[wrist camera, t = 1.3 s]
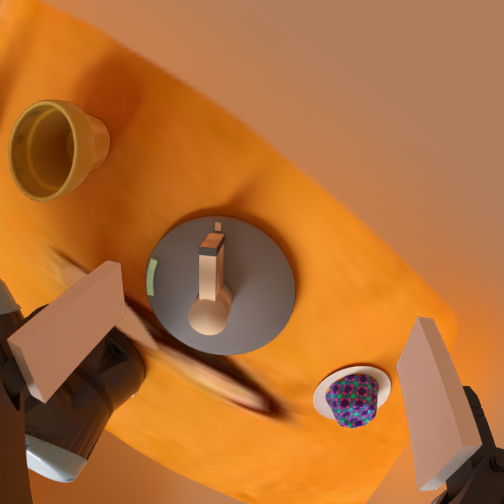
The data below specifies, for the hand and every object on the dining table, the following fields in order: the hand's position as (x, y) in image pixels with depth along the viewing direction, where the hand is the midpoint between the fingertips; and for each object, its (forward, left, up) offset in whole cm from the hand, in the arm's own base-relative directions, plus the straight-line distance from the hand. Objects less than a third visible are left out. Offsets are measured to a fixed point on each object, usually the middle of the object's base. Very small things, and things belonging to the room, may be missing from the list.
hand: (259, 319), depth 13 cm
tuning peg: (-8, +6, -21) cm, 23 cm away
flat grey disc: (-11, +6, -23) cm, 26 cm away
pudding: (-27, -14, -23) cm, 38 cm away
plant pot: (+6, +23, -23) cm, 33 cm away
